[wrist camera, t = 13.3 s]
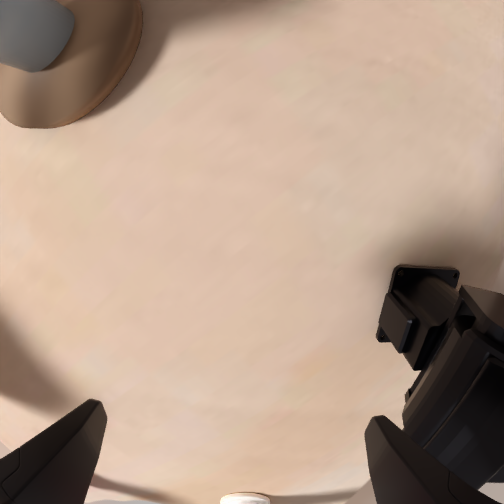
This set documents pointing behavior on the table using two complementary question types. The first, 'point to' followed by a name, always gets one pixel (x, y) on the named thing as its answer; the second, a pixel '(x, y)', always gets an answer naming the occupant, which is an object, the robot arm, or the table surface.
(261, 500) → the candle
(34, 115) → the trivet
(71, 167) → the table surface
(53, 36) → the jar
